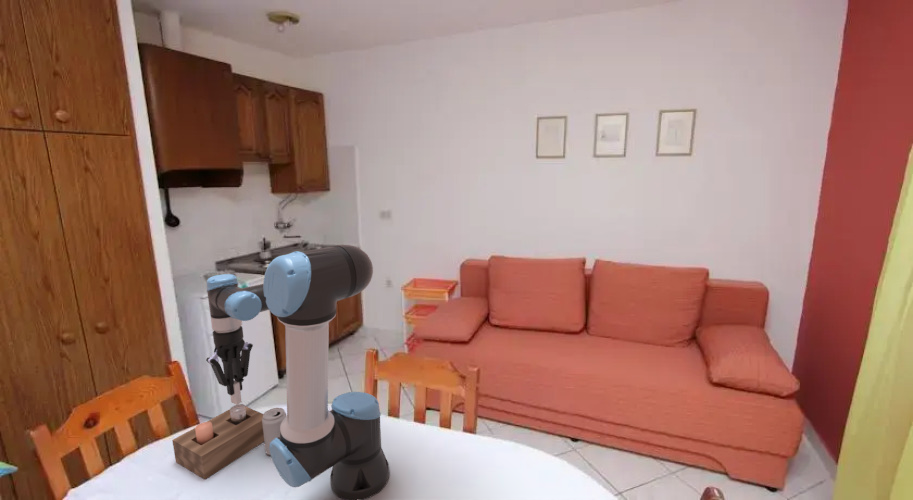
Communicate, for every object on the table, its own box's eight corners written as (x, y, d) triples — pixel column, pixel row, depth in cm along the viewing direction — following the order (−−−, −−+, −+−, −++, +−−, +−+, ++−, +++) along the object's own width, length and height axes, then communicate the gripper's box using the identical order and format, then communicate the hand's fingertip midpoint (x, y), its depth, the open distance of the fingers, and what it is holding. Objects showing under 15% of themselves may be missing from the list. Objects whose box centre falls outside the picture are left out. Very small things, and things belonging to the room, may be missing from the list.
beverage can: (280, 458, 115) (276, 420, 113) (260, 455, 117) (256, 418, 114) (293, 444, 121) (290, 407, 119) (274, 441, 123) (270, 405, 120)
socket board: (270, 436, 125) (268, 416, 124) (204, 479, 108) (201, 456, 106) (242, 423, 132) (239, 403, 130) (175, 462, 114) (172, 439, 113)
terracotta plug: (217, 443, 115) (215, 424, 114) (203, 451, 112) (200, 432, 111) (209, 439, 117) (206, 420, 116) (194, 447, 114) (192, 428, 113)
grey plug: (249, 424, 124) (247, 406, 123) (237, 431, 120) (235, 413, 119) (241, 420, 126) (239, 402, 125) (229, 427, 122) (226, 409, 121)
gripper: (240, 318, 124) (248, 388, 129) (196, 333, 113) (207, 410, 118) (256, 322, 121) (264, 395, 126) (212, 339, 110) (222, 417, 114)
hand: (236, 402), depth 122 cm, fingers closed
